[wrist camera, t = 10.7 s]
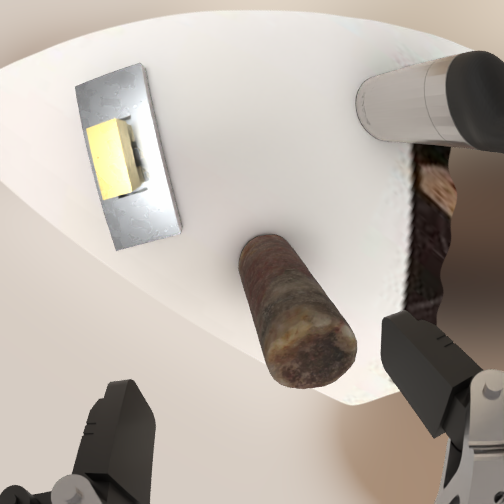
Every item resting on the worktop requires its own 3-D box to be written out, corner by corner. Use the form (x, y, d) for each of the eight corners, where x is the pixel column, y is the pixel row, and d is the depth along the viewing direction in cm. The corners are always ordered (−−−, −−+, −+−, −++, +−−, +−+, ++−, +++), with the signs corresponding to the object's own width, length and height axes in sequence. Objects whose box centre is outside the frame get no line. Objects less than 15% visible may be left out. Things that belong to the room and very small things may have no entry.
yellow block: (135, 123, 32) (115, 118, 24) (148, 180, 34) (132, 191, 27) (111, 131, 32) (86, 128, 24) (124, 187, 34) (103, 200, 26)
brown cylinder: (282, 293, 42) (335, 396, 24) (230, 282, 41) (252, 390, 22) (301, 240, 40) (376, 321, 22) (246, 226, 39) (287, 305, 20)
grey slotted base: (145, 68, 30) (140, 62, 28) (182, 226, 37) (180, 233, 35) (84, 90, 30) (74, 86, 27) (122, 243, 37) (116, 250, 34)
